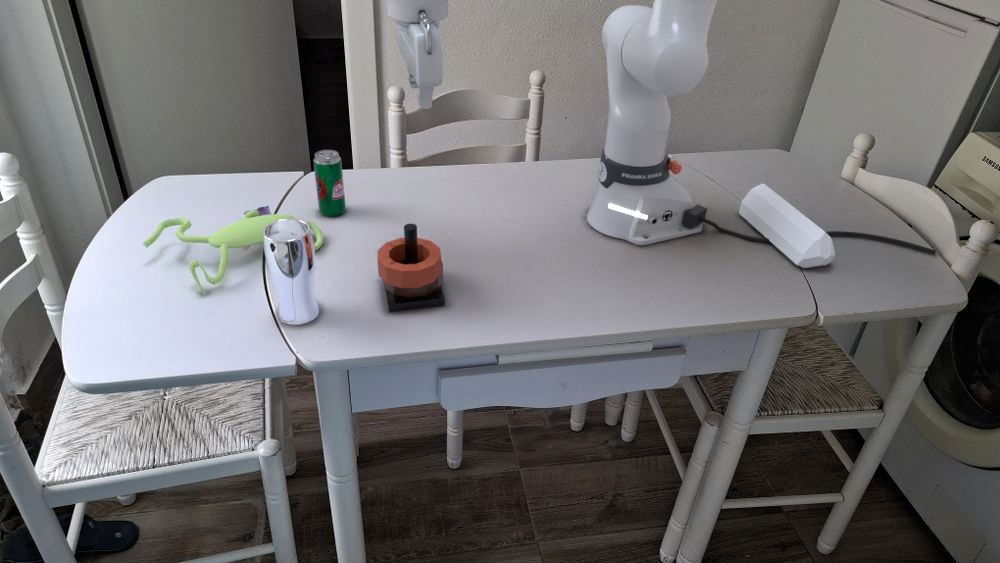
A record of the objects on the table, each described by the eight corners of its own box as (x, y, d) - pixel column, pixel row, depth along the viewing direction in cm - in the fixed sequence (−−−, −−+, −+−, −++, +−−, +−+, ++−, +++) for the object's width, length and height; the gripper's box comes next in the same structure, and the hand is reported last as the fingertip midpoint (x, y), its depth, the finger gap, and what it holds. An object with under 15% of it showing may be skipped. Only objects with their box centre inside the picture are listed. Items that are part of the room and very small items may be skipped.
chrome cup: (280, 300, 109) (266, 217, 100) (324, 299, 109) (314, 217, 101) (271, 327, 103) (256, 242, 95) (318, 326, 104) (307, 242, 95)
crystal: (854, 251, 122) (776, 190, 141) (831, 236, 118) (754, 176, 137) (825, 283, 124) (753, 219, 143) (801, 270, 121) (730, 206, 140)
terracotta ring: (438, 252, 114) (438, 236, 112) (442, 286, 106) (442, 269, 104) (378, 255, 112) (377, 238, 111) (378, 289, 104) (377, 271, 103)
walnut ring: (435, 260, 118) (434, 244, 116) (448, 292, 110) (448, 276, 108) (377, 267, 115) (376, 251, 113) (387, 300, 107) (386, 284, 106)
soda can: (340, 219, 131) (334, 161, 124) (315, 216, 132) (307, 158, 125) (350, 207, 135) (344, 150, 128) (325, 204, 136) (319, 147, 129)
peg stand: (435, 275, 117) (434, 210, 110) (445, 305, 110) (444, 238, 102) (381, 280, 115) (377, 215, 108) (388, 312, 107) (384, 244, 100)
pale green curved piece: (141, 254, 118) (132, 225, 115) (283, 208, 133) (279, 182, 130) (184, 303, 107) (176, 273, 104) (333, 247, 122) (330, 219, 119)
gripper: (452, 20, 92) (453, 119, 99) (426, -13, 108) (428, 75, 116) (405, 22, 90) (410, 122, 98) (386, -12, 106) (391, 77, 114)
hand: (420, 96), depth 107 cm, fingers open, 8 cm apart
